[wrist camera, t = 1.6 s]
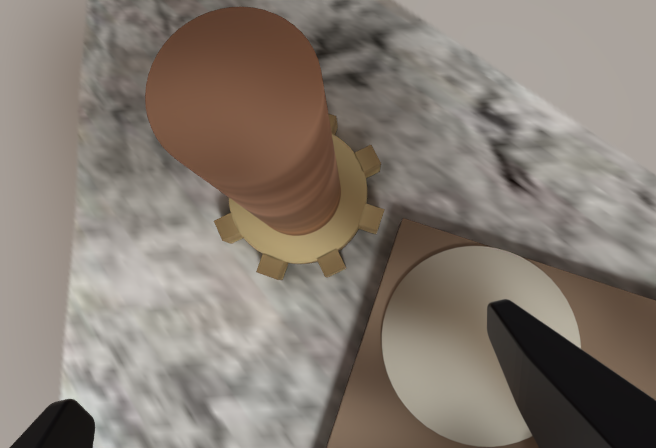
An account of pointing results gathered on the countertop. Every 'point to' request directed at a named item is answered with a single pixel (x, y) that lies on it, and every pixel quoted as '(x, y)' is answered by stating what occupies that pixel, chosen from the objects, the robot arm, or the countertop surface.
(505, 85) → the countertop surface
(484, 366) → the gear board
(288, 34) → the gear spindle
